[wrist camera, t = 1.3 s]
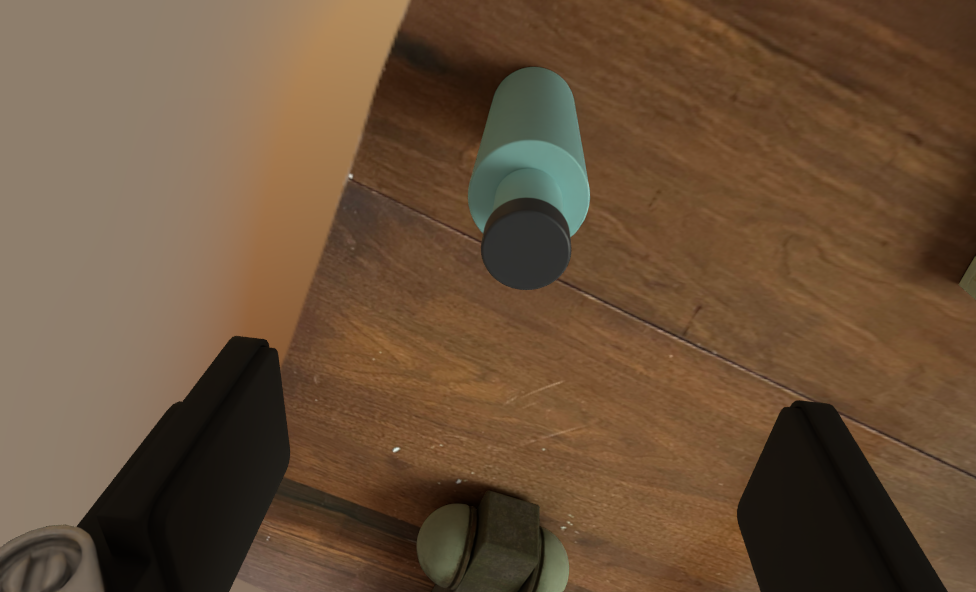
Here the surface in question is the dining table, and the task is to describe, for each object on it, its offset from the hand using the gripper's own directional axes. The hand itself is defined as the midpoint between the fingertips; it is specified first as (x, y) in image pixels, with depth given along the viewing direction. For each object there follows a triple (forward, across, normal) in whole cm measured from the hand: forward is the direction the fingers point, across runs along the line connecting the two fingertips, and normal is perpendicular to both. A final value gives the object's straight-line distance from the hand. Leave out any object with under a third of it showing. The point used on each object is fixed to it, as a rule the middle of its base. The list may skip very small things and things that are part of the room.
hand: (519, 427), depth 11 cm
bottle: (+21, 0, -1) cm, 21 cm away
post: (+19, -2, +43) cm, 47 cm away
